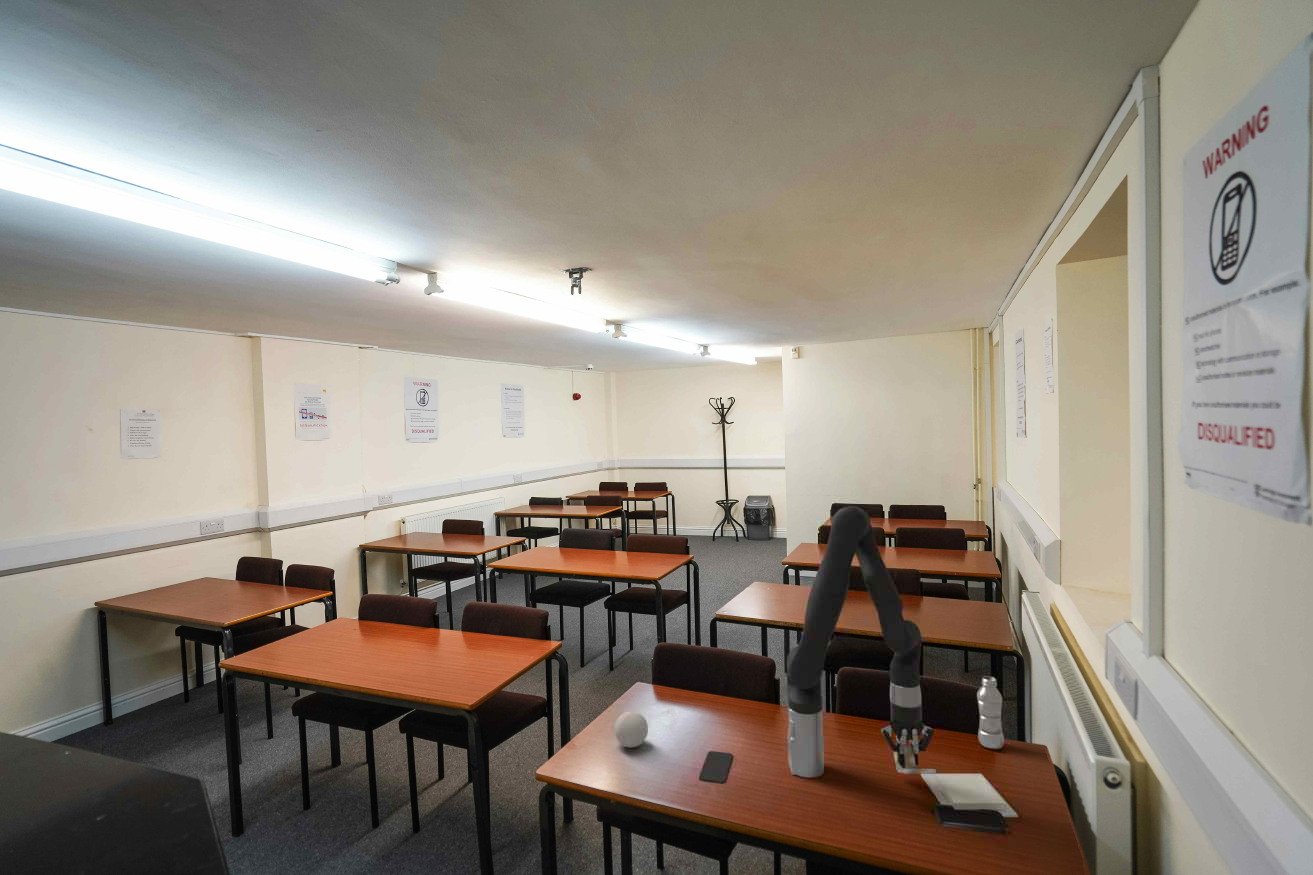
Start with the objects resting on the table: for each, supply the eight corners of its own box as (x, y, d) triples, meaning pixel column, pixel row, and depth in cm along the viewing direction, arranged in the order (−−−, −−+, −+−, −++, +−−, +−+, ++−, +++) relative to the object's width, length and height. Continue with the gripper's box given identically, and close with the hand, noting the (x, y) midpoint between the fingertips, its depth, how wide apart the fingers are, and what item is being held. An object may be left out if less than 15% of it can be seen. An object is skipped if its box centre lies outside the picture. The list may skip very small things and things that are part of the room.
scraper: (907, 773, 148) (902, 745, 151) (888, 771, 162) (883, 746, 165) (936, 772, 148) (930, 745, 151) (914, 770, 162) (909, 745, 165)
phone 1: (697, 778, 164) (708, 750, 178) (698, 781, 164) (708, 753, 178) (725, 782, 162) (733, 753, 176) (725, 785, 162) (733, 756, 176)
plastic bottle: (1007, 753, 174) (1005, 683, 174) (982, 751, 175) (980, 682, 175) (999, 741, 180) (998, 674, 180) (975, 740, 181) (973, 673, 181)
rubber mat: (949, 816, 146) (949, 815, 146) (920, 774, 164) (920, 773, 164) (1018, 816, 145) (1018, 815, 145) (981, 774, 163) (981, 773, 163)
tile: (934, 782, 159) (954, 810, 147) (934, 775, 159) (954, 802, 147) (981, 782, 159) (1005, 810, 147) (980, 775, 159) (1005, 802, 147)
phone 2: (1010, 831, 139) (939, 822, 142) (1010, 836, 139) (939, 827, 142) (999, 810, 146) (932, 802, 150) (999, 815, 146) (933, 807, 150)
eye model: (625, 734, 190) (624, 703, 190) (654, 741, 186) (653, 708, 186) (609, 750, 181) (608, 716, 181) (639, 756, 177) (638, 722, 177)
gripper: (883, 706, 154) (886, 774, 154) (938, 705, 153) (941, 773, 153) (874, 694, 161) (876, 758, 161) (926, 692, 161) (929, 758, 161)
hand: (908, 765), depth 157 cm, fingers closed on scraper
